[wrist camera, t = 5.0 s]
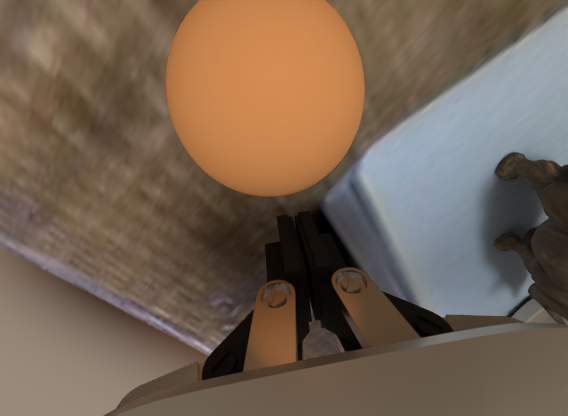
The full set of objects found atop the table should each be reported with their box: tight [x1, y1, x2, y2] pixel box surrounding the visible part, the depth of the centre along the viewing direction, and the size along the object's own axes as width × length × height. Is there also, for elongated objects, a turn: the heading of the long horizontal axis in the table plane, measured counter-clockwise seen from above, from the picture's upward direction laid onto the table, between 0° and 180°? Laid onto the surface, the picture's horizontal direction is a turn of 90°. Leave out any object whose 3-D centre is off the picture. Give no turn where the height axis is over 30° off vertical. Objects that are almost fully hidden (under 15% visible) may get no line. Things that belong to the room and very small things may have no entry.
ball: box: [166, 0, 365, 197], centre depth 7 cm, size 6×6×6 cm
